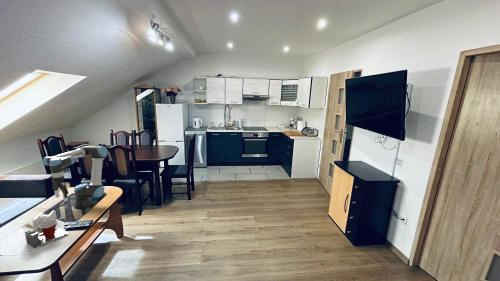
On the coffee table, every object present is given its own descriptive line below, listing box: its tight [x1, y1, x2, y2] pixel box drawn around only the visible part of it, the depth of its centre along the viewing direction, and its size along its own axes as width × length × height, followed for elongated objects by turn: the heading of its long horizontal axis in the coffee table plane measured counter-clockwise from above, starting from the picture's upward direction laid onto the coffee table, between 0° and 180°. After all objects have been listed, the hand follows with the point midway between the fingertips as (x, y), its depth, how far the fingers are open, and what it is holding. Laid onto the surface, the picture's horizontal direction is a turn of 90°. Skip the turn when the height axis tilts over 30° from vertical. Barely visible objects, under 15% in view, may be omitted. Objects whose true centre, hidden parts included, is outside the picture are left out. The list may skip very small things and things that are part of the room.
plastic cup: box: [39, 219, 58, 238], centre depth 171 cm, size 11×11×12 cm
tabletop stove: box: [24, 226, 70, 249], centre depth 169 cm, size 22×17×12 cm
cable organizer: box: [31, 210, 58, 232], centre depth 184 cm, size 15×11×12 cm
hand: (61, 199), depth 181 cm, fingers open, 13 cm apart
